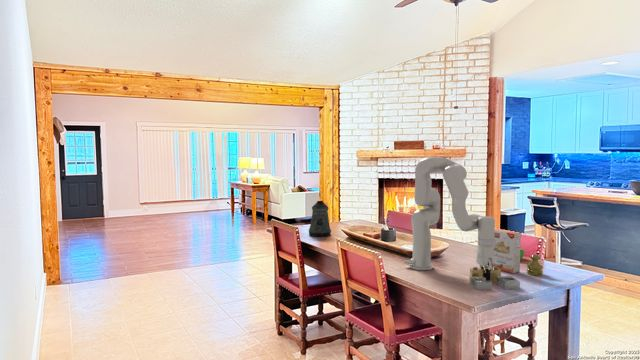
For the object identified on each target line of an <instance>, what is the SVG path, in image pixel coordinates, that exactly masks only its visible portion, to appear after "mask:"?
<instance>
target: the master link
mask: <svg viewBox="0 0 640 360" xmlns="http://www.w3.org/2000/svg"><path fill="white" fill-rule="evenodd" d="M486 269H487V268H486ZM483 273H484V268H480V267H479V268H478V267H477V266H473V267H471V268H469V277H483ZM496 276H502V271H501V269H499V268H498V267H493V268H492V270H491V273H490V281H491V282H492V283H494V282H495V283H496Z"/></svg>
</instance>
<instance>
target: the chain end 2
mask: <svg viewBox="0 0 640 360" xmlns="http://www.w3.org/2000/svg"><path fill="white" fill-rule="evenodd" d="M495 284H496V285H498V286H499V287H501V288H502V289H504V290H520V289H521V281H520V280H518V279H516V278H515V277H513V276H511V275H501V276H496V282H495Z"/></svg>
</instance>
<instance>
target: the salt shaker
mask: <svg viewBox="0 0 640 360" xmlns="http://www.w3.org/2000/svg"><path fill="white" fill-rule="evenodd" d="M529 258H530V259H531V261H529V263H527V264H526V273H527V275H530V276H534V277H538V276H539V277H540V276H543V274H544V270H543V269H544V265H542V264H541V263H540V262H539V260H540V259H541V258H542V257H541V256H540V255H538V254H536V253H535V254H532V255H530V256H529Z"/></svg>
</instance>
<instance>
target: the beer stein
mask: <svg viewBox="0 0 640 360" xmlns="http://www.w3.org/2000/svg"><path fill="white" fill-rule="evenodd" d="M329 209H330V208H329V206H328V205H327V204H326V203H325V202H324V200H317V201H316V203H314V204H313V206H311V210H312V212H311V213H312V214H311V220H310V225H309V228H308V235H309V236H310V237H314V238H326V237H331V234H332V229H331V226H330V220H329Z"/></svg>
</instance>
